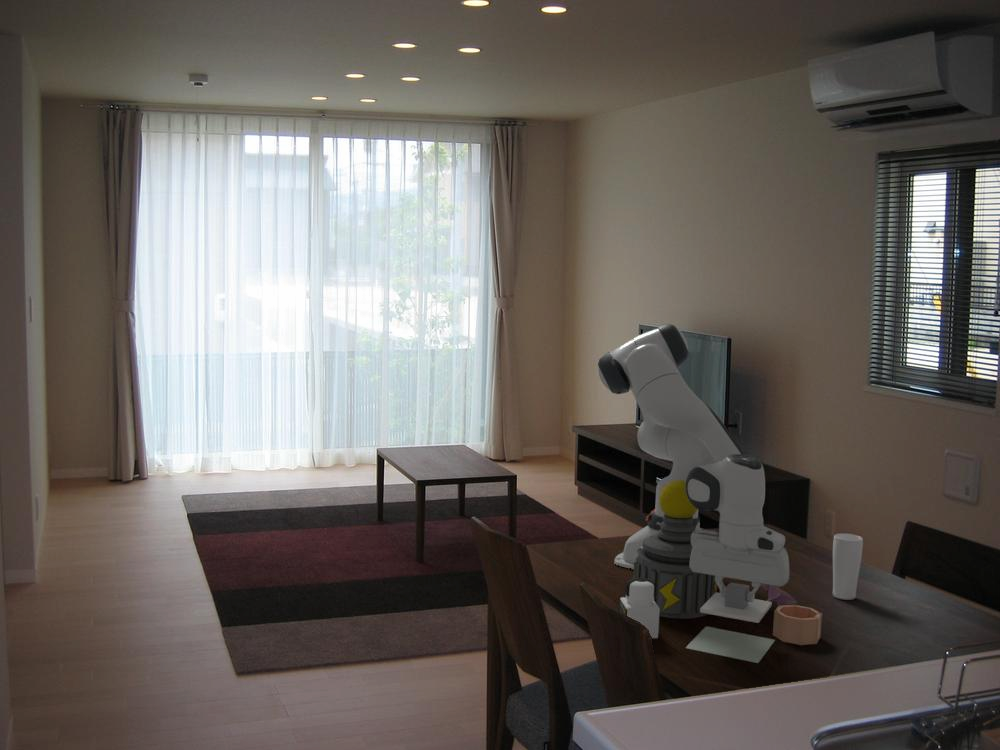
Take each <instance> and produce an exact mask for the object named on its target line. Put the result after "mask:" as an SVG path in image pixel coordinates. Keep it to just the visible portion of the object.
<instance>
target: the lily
mask: <svg viewBox="0 0 1000 750" xmlns="http://www.w3.org/2000/svg"><path fill="white" fill-rule="evenodd" d="M760 587H761V588H762V589H764V590H766V592H767V600H766V601H769V602H775V603H777V605H778V606H785V605H790V604H797V603H798V602H797V601H796V599H795V598H794V597H793V596H792V595H790V594H789V593H788V592H786V591H785V590H784V589H781V587H780V586H775V585H769V584H763V583H761V585H760Z"/></svg>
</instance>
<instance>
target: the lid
mask: <svg viewBox="0 0 1000 750" xmlns="http://www.w3.org/2000/svg"><path fill="white" fill-rule="evenodd" d="M725 587H726V588H725V598H724V597H720V592H717V591H716V592H715V594H714V595H713V596H712V597H711V598H710V599H709V600H708V601H707V602H706V603H705V604H704V605H703V606H702V607H701V608H700V612H701V613H707V615H713V616H718V617H723V618H729V619H735V620H740V621H745V622H752V623H757V624H758V623H760V622H761V620H762V619H763V618H764V617H765V615H766V614H767V613H768V612H769V610H770V609H771V607H772V604H773V603H772V602H773V601H767V600H762V599H758V598H757V599H756V598H754V602H747V601H746V593H747V592H748V591H750V585H748V584H742V583H735V582H729V584H727V585H726V586H725Z"/></svg>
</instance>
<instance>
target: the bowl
mask: <svg viewBox="0 0 1000 750" xmlns="http://www.w3.org/2000/svg"><path fill="white" fill-rule="evenodd" d="M822 619H823V613H822V612H819V611H818V610H816V609H814V608H813V607H808V606H804V605H803V606H801V605H797V604H788V605H785V606H779V605H778V606H777V607H776V609H775V610H774V611H773V623H772V624H773V625H772V628H773V629H772V636H773V637H775V638H777V639H778V640H780V641H781V642H783V643H787V644H788V643H789V644H792V645H793V644H794V645H799V646H805V645H817V644H818V642H819V640H821V638H822V637H821V634H822V621H823V620H822Z"/></svg>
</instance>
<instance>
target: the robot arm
mask: <svg viewBox="0 0 1000 750" xmlns="http://www.w3.org/2000/svg"><path fill="white" fill-rule="evenodd" d="M689 354H690V353H689V345H688V340H687V339H686V336H685V335H684V333H683V332H682V330H680V329H679V328H677V327H676V325H674V324H671V323H666V324H662V325H658V326H656V328H654V329H652V330H651V329H650V330H649V331H646V332H644V333H641V334H638V335H636V336H634V337H632V338H631V339H630V340H628V341H625V342H624V343H622V344H621V345H619V346H617V347H616V348H615V349H613V350H611V352H610V351H608V352H606V353H605V354H603V355H602V356H601V357H600V358H599V359H598V363H597V367H598V376H599V379H600V381H601V383H602V384H603V386H604V387H605V388H606V389H607V390H609V391H610V392H611V393H613V394H615V395H622V394H627V393H629V392H630V391H632V392H631V393H632V394H633V397H634V399H635V400H636V402H637V405H638V408H639V409H640V412H641V414H642V417H643V421H642V422H641V424H640V425H639V427H638V430H637V444H638V446H639V448H640V450H642V451H643V452H645V453H646V454H648V455H650V456H652V457H655V458H657V459H659V460H660V459H661V460H666V461H670V462H672V468H671V471H670V474H669V475H668V476H665V477H664V478H662V479H660V480H659V481H658V483H657V485H656V487H655V488H656V491H655V505H654V506H655V508H654V509H653V510H651V511H650V513H649V514H647V516H646V517H645V522H646V523H647V525H646V526H645V527H642V529H639V530H638V531H637V532H635V533H634V534H632V535H631V536H629V537H628V538H627V540H626V541H625V544H624V548H623V551H622V552H621V553H619V554H617V555H616V556H615V557H614V562H613V563H614V565H615V564H616V566H618V565H619V566H618V567H623V568H626V569H630V568H631V570H634V562H635V559H636V558H637V557H638V552H639V551H640V550H641V549H643V546H642V544H643V540H644V539H645V538H646V537H649V536H652V535H655V534H658V532H659V530H660V529H661V527H660V526H661V523H662V522H663V521H664V520H663V517H664V512H663V511H662V510H661V506H660V503H659V498H660V493H661V491H662V489H663V488H664V487H665V486H666V485H667V484H668V483H670V482H672V481H675V480H681V481H686V485H685V489H686V494H687V497H688V499H689V501H690V503H691V504H692V505H693V506H694V507H696V508H697V511H696V513H695V514H694V515H693V516H692V517H693V522H692V524H694V526H695V530H694V531H693V532H692V534H691V545H692V551H691V556H690V563H689V567H690V569H691V570H692V571H693V572H697V573H703V574H709V575H715V581H716V583H717V584H716V586H717V588H718V589H719V593H720V597H724V598H725V588H726V587H727V586H725V584H724V582H723V580H724V579H725V578H728V579H732V580H733V579H734V580H739V581H747V582H751V587H753V588H752V590H751V591H750V590H749V591H748V592H747V593H746V601H747V602H754V599H756V597H755V595H756V592H757V591H758V590H759V588H760V587H761V586H760V585H761V584H766V585H767V584H769V585H775V586H779V587H784V586H785V585H786V584H787V583H788V581H789V579H790V559H789V554H788V552H787V550H786V548H785V547H784V546H785V544H786V536H785V535H784V534H782V533H780V532H778V531H775V530H773V529H771V528H769V527H767V526H765V525H764V518H763V517H764V516H763V507H764V504H765V498H766V477H765V476H766V475H765V469H764V465H763V464H762V462H761V461H760V460H758V459H757V458H756V457H754V456H751V455H748V454H746V453H745V451H743V448H741V446H740V445H739V443H738V442H737V441H736V439H735V438H734V436H732V434H731V433H730V431H729V430H728V428H727V427H726V425H724V423H723V422H722V420H721V419H720V417H719V416H718V414H716V413H715V411H714V410H713V408H711V407H710V406H709V405H708V404H707V403H705V402H704V401H702V399H701V398H699V397H698V395H696V394H695V392H694V391H692V389H691V388H690V387H689V385H688V384H687V383H686V381H685V379H684V378H683V376H682V373H680V371H679V369H678V367H679V366H681V365H682V364H684V363H685V362H686V361H687V360H688V356H689ZM699 510H702V511H717V512H718V513H719V522H718V523H719V524H718V530H715V529H705V528H703V527H702V528H701V527H700V524H701V523H700V515H699Z"/></svg>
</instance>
